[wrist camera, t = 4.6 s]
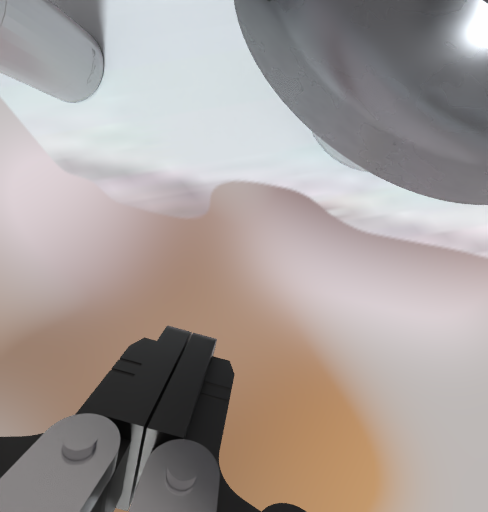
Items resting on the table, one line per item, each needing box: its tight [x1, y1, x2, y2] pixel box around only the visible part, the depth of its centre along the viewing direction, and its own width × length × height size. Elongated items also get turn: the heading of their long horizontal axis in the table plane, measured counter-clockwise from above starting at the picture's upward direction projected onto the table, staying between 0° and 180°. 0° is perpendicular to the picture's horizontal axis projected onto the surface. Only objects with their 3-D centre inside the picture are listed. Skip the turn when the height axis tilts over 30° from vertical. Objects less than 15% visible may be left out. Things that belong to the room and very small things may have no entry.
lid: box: [234, 0, 488, 205], centre depth 16 cm, size 20×18×1 cm
